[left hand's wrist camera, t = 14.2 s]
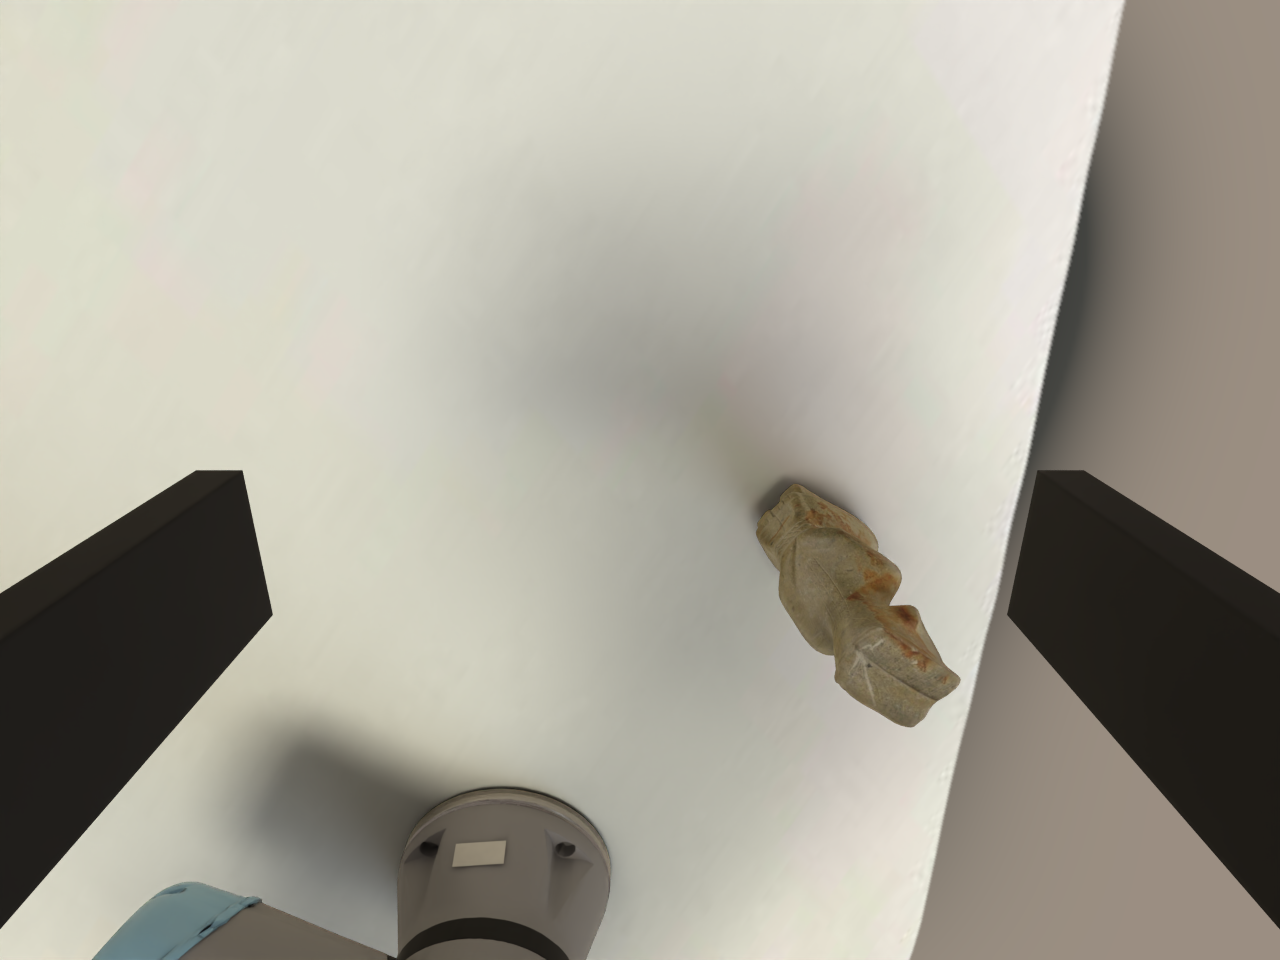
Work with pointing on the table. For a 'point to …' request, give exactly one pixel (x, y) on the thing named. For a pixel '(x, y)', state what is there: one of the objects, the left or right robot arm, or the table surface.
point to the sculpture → (853, 607)
